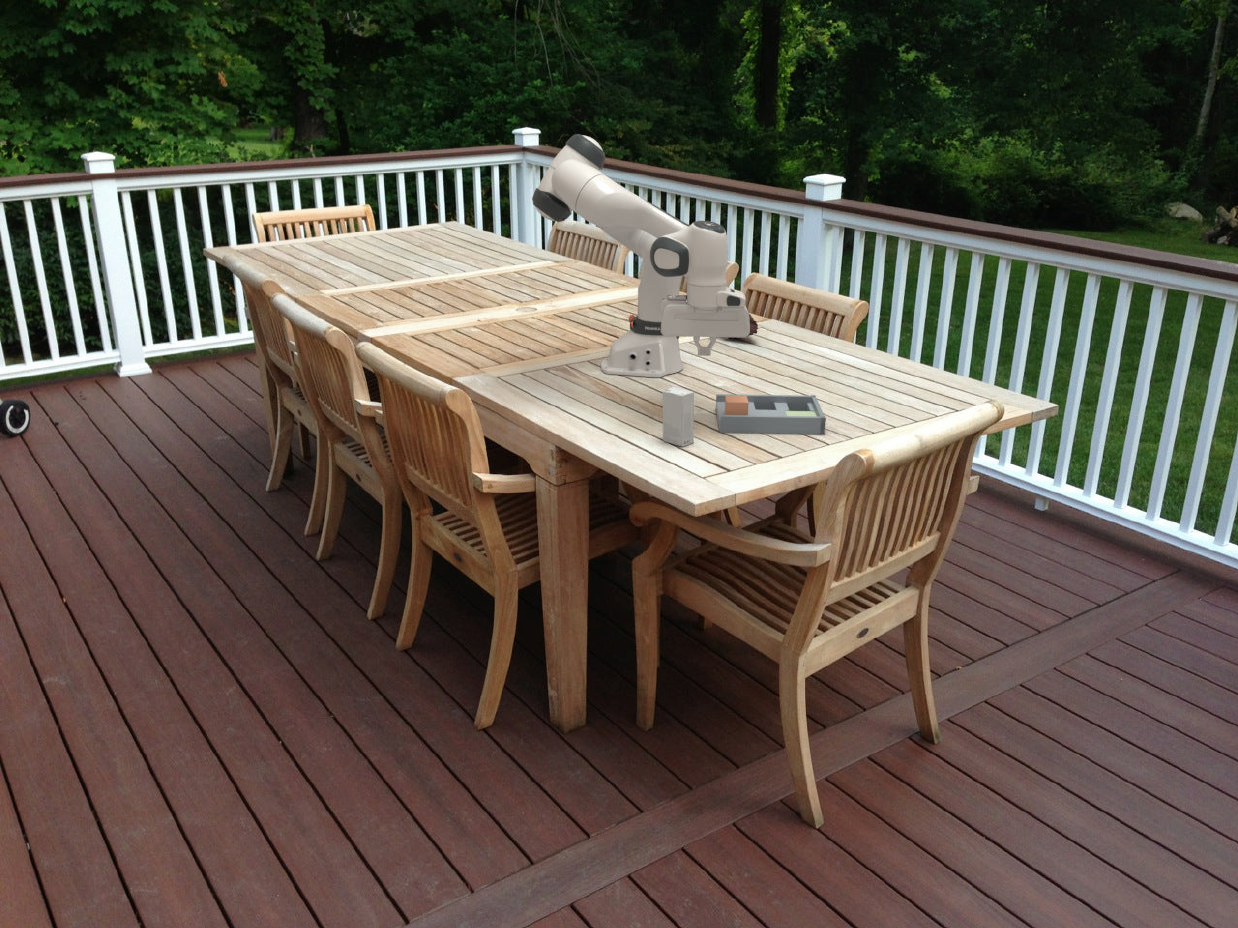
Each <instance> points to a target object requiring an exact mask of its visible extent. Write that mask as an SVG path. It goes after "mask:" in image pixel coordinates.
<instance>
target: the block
mask: <svg viewBox="0 0 1238 928" xmlns="http://www.w3.org/2000/svg"><path fill="white" fill-rule="evenodd" d="M748 404H749V402H748V399H747V396H725V415H748Z"/></svg>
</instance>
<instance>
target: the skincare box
mask: <svg viewBox="0 0 1238 928" xmlns="http://www.w3.org/2000/svg"><path fill="white" fill-rule="evenodd" d="M661 394H662V441H663V442H666V443H669V444H672V445H675V446H678V447H686V446H689V445H692V444H693V443H694V441H695V435H694V434H695V432H694V431H695V429H694V428H695V418H694V417H695V414H694V413H695V391H691V390H687V389H683V388H680V387H676V386H672V387H670V388H667V389H666V388H665V389H664V390H662V393H661Z"/></svg>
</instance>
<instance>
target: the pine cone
mask: <svg viewBox="0 0 1238 928" xmlns="http://www.w3.org/2000/svg"><path fill="white" fill-rule="evenodd" d="M748 314H749V321H750V334H749V335H748V336H747V337H746V338H748V337H749V336H753V335H754V334H755V335H756V334H758V332H759V331H758V330H759V325H758V323H757V321H756V320H755V319H754V318H753V317H752V315H751V314H750V313H749V312H748ZM727 338H728V339H729V340H731V339H733V338H734V339H737V338H739V339H742V338H743V337H727Z"/></svg>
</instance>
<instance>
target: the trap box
mask: <svg viewBox="0 0 1238 928" xmlns="http://www.w3.org/2000/svg"><path fill="white" fill-rule="evenodd" d="M715 395H716V396H715V397H716V398H715V414H716V419H717V423H718V425H717V426H718V430H719V434H761V435H762V434H768V435H777V434H778V435H779V434H781V435H825V433H826V430H825V429H826V421H827V418H826V416H825V413H824V412H823V409H822V407H821V405H820V403H819V400H818V398H817V395H816V394H810V395H800V394H799V395H798V394H797V395H796V394H795V395H794V394H792V395H789V394H783V395H782V394H729V393H728V394H727V393H726V394H725V393H723V394H722V393H719V394H715ZM725 396H747V399H748V402H749V404H748V415H725Z"/></svg>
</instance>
